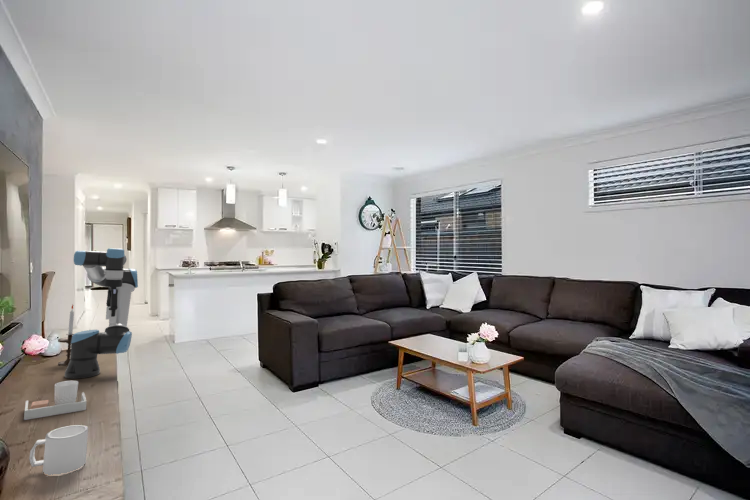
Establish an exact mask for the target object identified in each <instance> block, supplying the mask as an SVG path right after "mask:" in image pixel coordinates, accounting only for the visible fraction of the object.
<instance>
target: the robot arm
mask: <svg viewBox="0 0 750 500" xmlns="http://www.w3.org/2000/svg"><path fill="white" fill-rule="evenodd" d="M126 262H127V255H125V249H123V248H114V247H113V248H111V247H110V248H107V249H106V251H94V250H75V252H74V255H73V264H74V265H75V266H79V267H81V266H82V267H83V268H84V270H85V272H86V276H87V278H88V281H90V282H91V283H93V284H94V285H97V286H100V287H103V288H107V296H106V297H107V298H106V302H105V303H106V310H105V311H106V312H105V313H106V314H105V320H108V323H109V324H108V326H106V327H105V328H104V332H100V330H99V329H89V330H81V331H78V332H76V333H73V334H74V335H72V341H71V353H70V362H69V364H68V366H67V367H66V369H65V371H64V378H65V379H86V378H92V377H95V376H97V375H98V376H99V374H100V373H101V367H100V364H99V361H98V355H109V354H110V355H112V354H114V355H115V354H116V355H118V354H125V353H127V352H128V350H129V348H130V346H131V342H132V338H133V337H132V336H133V333H132V331H131V330H130V328H129V327H128V320H129V312H130V304H131V299H132V297H131V296H132V293H133V292H134V291H135V289H136V288H139V285H138V284H139V282H138V281H139V279H138V271H137V268H124V265H126Z"/></svg>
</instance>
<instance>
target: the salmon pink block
mask: <svg viewBox="0 0 750 500" xmlns="http://www.w3.org/2000/svg"><path fill="white" fill-rule="evenodd" d="M49 401H50V399H44V400H43V399H42V400H37V401H32V403H31V406H30V409H35V408H42V407H49Z"/></svg>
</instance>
